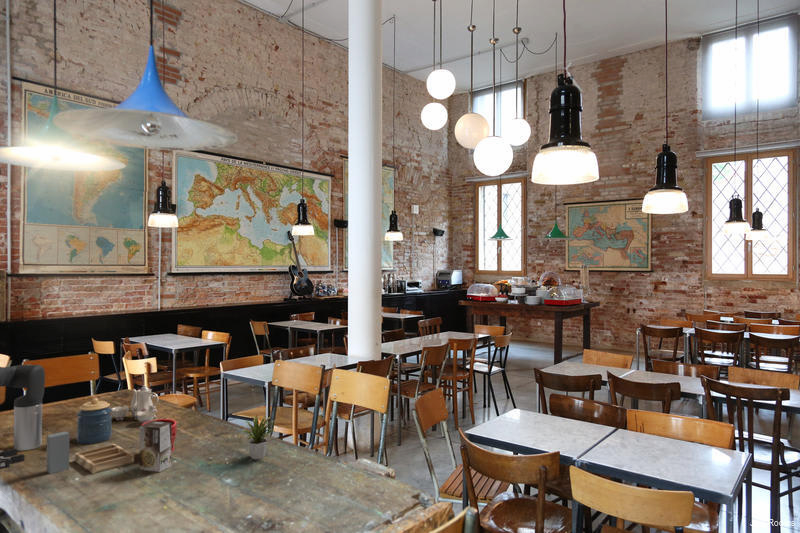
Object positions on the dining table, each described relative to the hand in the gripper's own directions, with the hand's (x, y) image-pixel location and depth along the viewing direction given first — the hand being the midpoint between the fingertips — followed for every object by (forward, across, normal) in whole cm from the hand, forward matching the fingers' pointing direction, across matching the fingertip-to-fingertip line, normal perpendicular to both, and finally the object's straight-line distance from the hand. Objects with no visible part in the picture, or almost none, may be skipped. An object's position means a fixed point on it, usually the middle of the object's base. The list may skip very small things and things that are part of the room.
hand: (20, 454), depth 176 cm
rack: (+25, -4, +9) cm, 27 cm away
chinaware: (+57, +41, +8) cm, 71 cm away
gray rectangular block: (+11, 0, +9) cm, 14 cm away
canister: (+32, +26, +9) cm, 42 cm away
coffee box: (+35, -24, +9) cm, 44 cm away
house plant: (+65, -44, +9) cm, 79 cm away
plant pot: (+42, -11, +9) cm, 45 cm away
